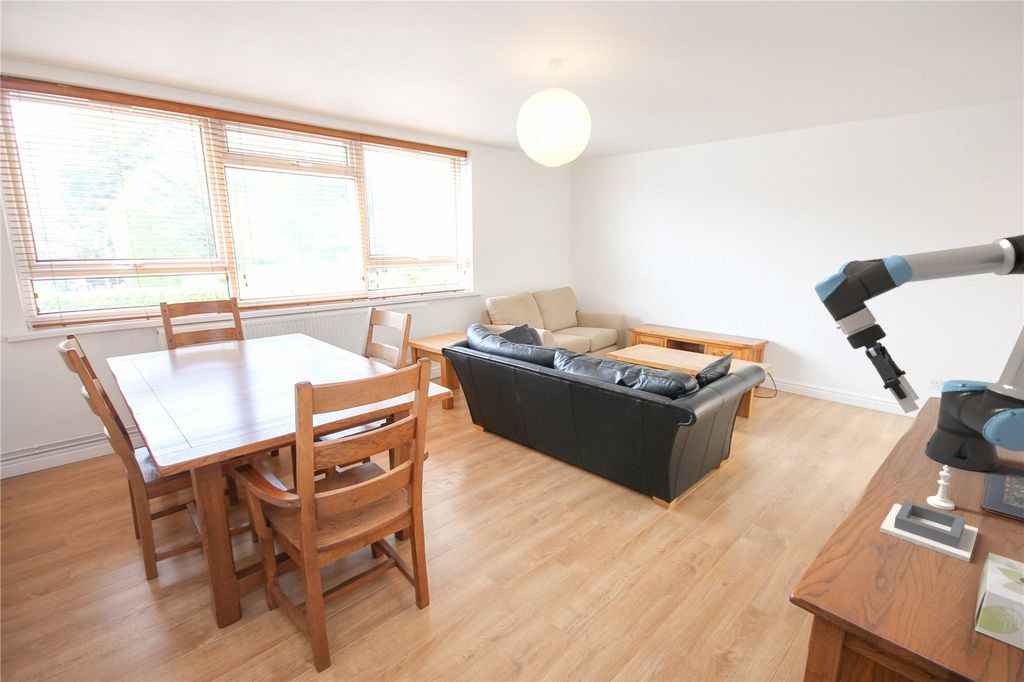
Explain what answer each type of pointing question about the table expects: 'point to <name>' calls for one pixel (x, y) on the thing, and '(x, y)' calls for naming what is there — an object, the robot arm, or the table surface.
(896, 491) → the table surface
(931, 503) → the chess piece
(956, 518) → the socket board
